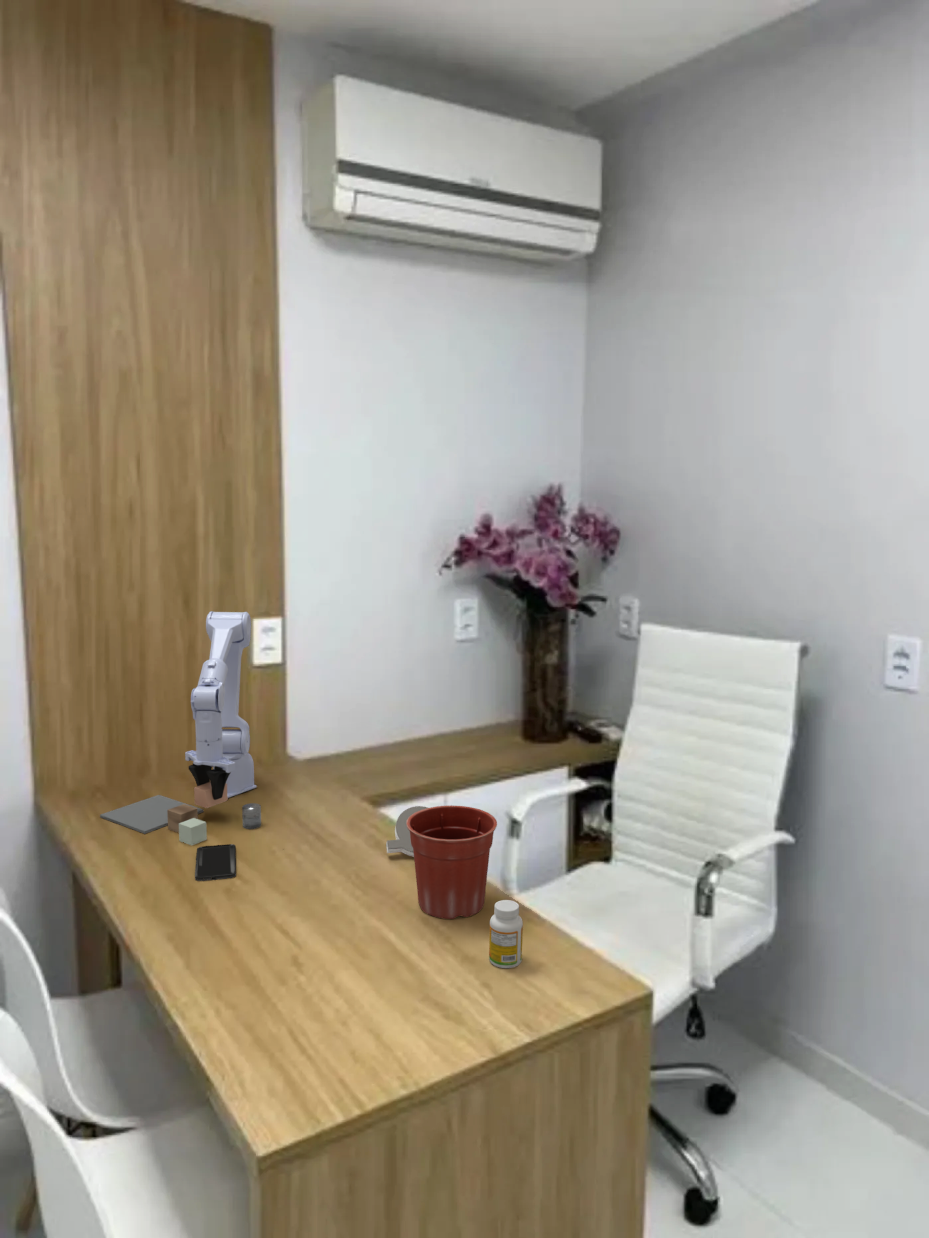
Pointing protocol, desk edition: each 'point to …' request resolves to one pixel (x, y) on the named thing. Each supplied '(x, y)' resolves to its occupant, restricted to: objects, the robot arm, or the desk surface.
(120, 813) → the desk mat
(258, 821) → the metal cylinder
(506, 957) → the supplement bottle
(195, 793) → the terracotta brick
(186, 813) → the walnut cube
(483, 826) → the flower pot
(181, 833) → the square sage brick
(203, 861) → the phone
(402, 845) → the grey disc with foot
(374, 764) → the desk surface
